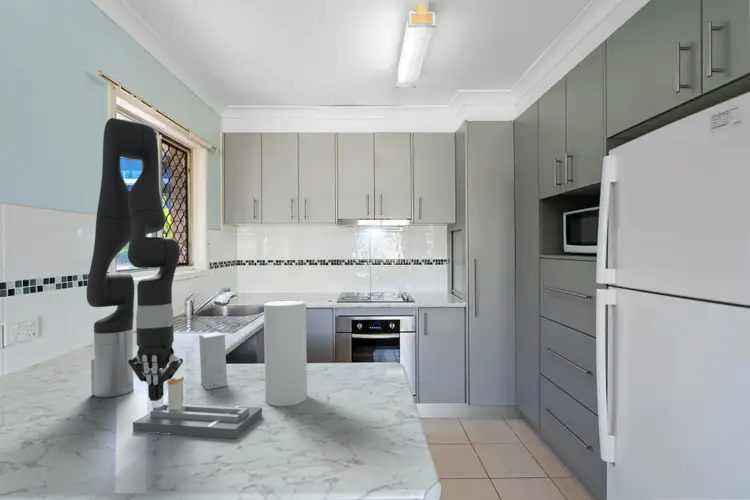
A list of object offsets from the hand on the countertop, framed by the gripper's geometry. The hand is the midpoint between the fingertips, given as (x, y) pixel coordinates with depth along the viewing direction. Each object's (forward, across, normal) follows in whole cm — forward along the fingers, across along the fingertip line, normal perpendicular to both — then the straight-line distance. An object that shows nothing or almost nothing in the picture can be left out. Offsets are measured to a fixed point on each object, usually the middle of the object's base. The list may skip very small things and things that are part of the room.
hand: (156, 399), depth 95 cm
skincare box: (+5, -2, +26) cm, 27 cm away
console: (+5, +11, 0) cm, 12 cm away
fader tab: (+3, +5, 0) cm, 6 cm away
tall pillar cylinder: (+5, +24, +18) cm, 30 cm away
